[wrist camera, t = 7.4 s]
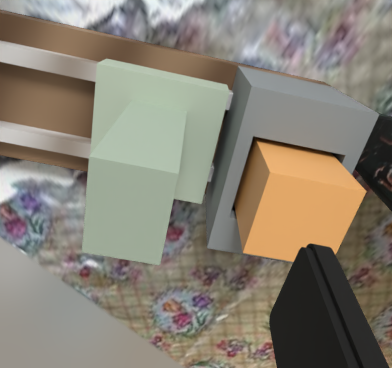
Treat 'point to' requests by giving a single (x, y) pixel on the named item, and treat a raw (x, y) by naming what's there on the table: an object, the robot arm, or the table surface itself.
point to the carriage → (146, 155)
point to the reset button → (293, 199)
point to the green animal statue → (378, 160)
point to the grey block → (278, 137)
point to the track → (76, 85)
